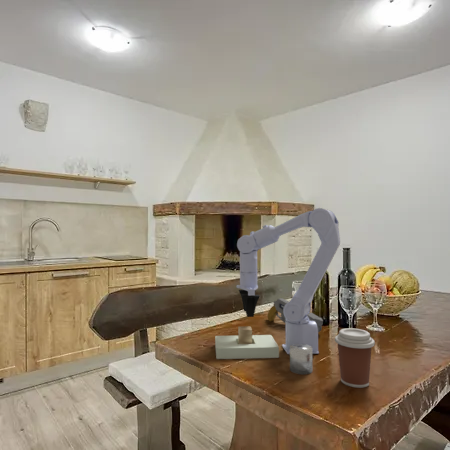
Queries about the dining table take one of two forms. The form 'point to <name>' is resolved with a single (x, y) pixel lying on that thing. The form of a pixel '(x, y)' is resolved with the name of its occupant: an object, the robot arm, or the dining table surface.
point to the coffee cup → (354, 356)
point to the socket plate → (246, 347)
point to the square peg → (245, 335)
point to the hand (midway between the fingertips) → (248, 313)
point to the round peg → (301, 358)
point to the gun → (279, 308)
